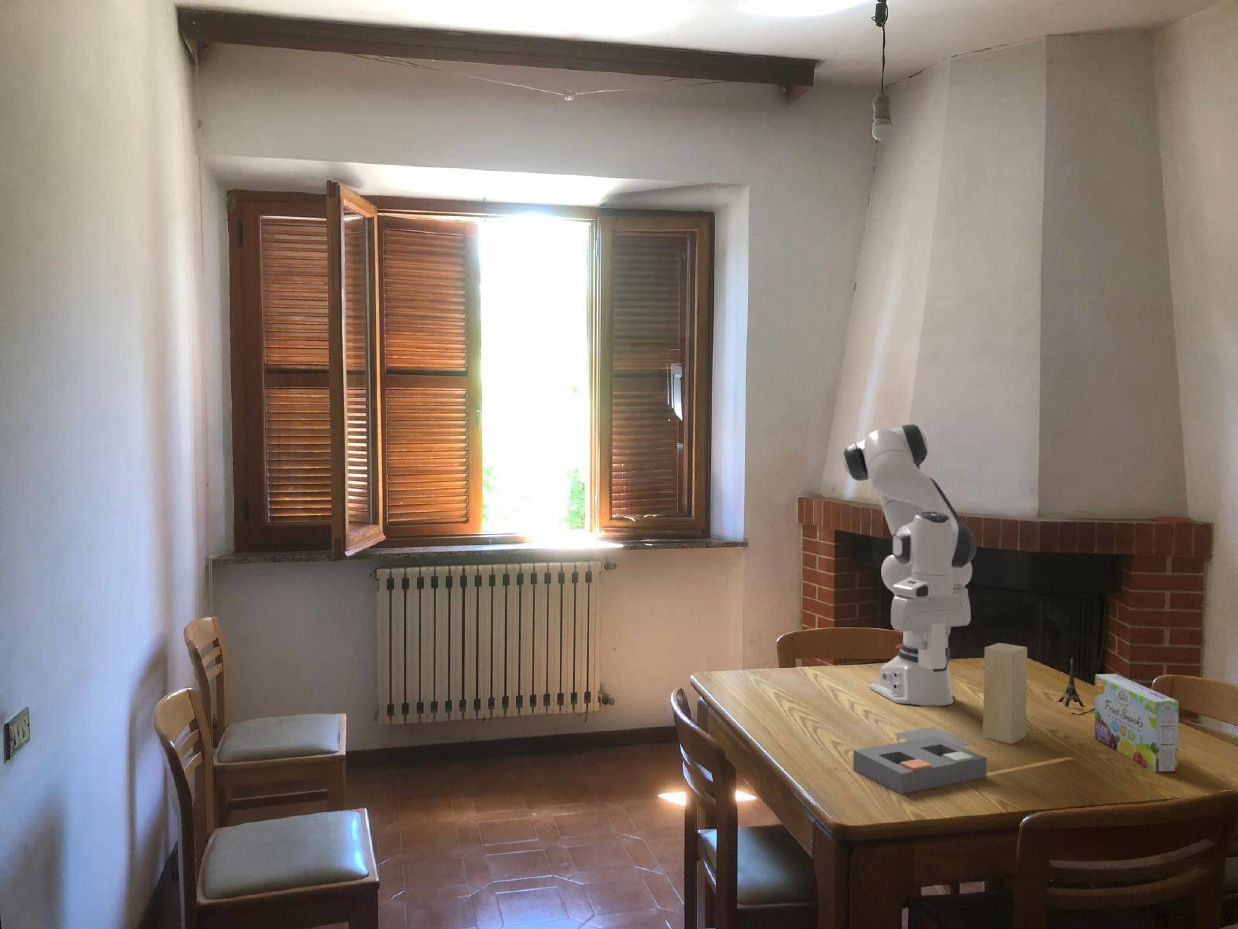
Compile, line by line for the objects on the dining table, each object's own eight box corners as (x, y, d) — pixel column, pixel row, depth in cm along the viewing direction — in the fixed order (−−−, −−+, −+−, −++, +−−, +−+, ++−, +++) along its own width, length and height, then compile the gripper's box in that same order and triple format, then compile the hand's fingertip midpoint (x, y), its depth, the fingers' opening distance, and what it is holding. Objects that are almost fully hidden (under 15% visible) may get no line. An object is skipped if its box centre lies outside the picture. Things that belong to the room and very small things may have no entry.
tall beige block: (993, 731, 213) (996, 641, 212) (1025, 738, 207) (1028, 647, 207) (978, 738, 207) (981, 646, 206) (1011, 747, 202) (1013, 652, 201)
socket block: (853, 769, 187) (853, 747, 187) (935, 754, 196) (935, 734, 196) (901, 794, 174) (901, 771, 174) (986, 777, 183) (986, 755, 183)
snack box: (1091, 739, 208) (1093, 673, 207) (1115, 738, 208) (1117, 673, 208) (1153, 773, 187) (1156, 700, 186) (1179, 773, 187) (1182, 700, 187)
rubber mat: (893, 736, 208) (893, 733, 208) (933, 729, 213) (933, 727, 213) (931, 753, 197) (931, 750, 197) (973, 746, 202) (973, 743, 202)
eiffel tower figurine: (1080, 718, 225) (1082, 664, 224) (1039, 708, 232) (1040, 656, 232) (1105, 706, 235) (1106, 655, 234) (1064, 698, 242) (1066, 648, 242)
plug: (918, 665, 203) (918, 620, 203) (931, 663, 205) (932, 619, 205) (931, 669, 199) (931, 624, 199) (945, 667, 201) (945, 622, 201)
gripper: (956, 581, 209) (955, 641, 209) (886, 586, 200) (885, 649, 201) (978, 585, 203) (977, 647, 204) (906, 590, 195) (905, 655, 195)
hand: (931, 648), depth 202 cm, fingers closed on plug, 4 cm apart
